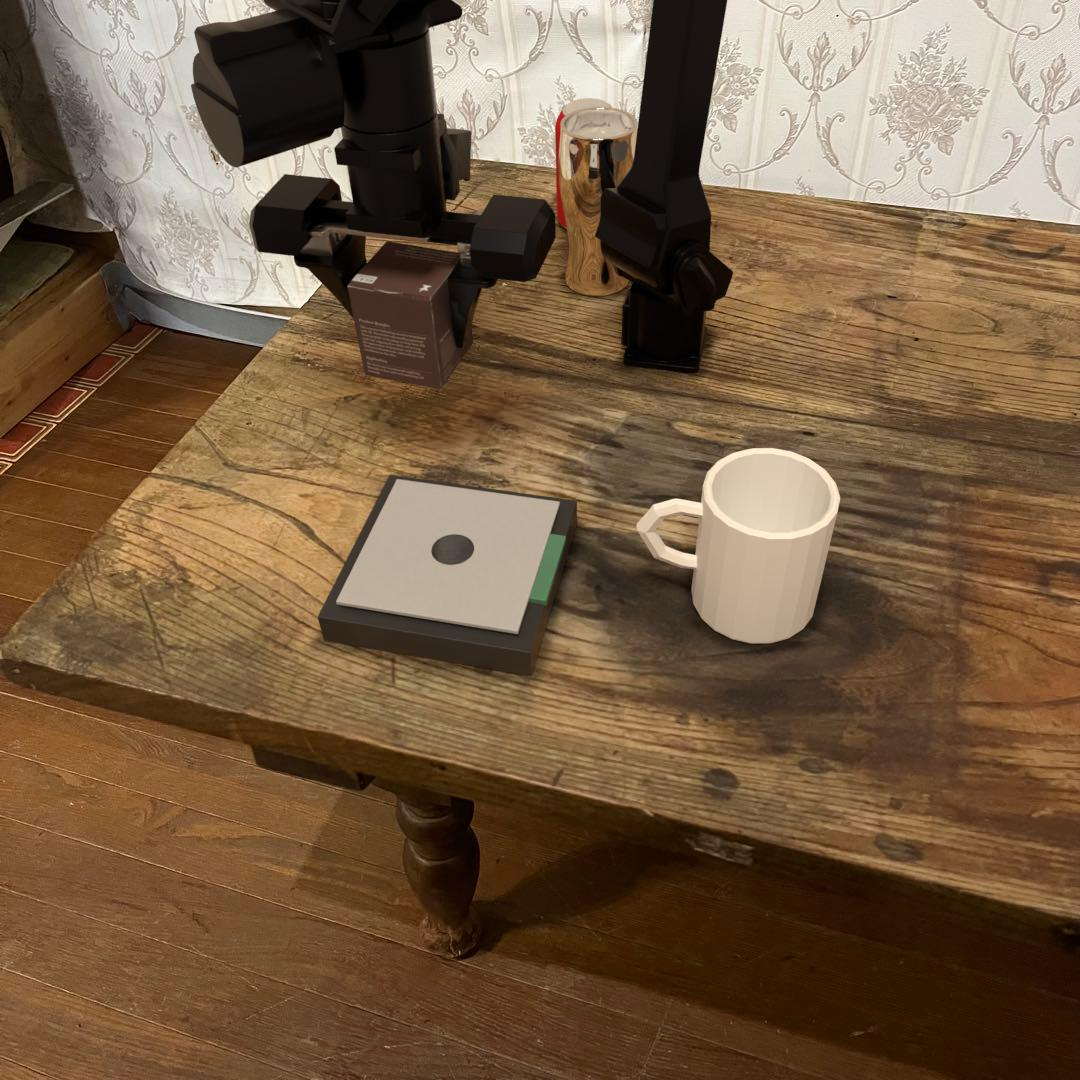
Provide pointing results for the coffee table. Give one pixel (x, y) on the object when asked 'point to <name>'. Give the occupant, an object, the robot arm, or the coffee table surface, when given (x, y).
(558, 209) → the beverage can
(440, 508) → the scale
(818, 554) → the mug
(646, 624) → the coffee table surface
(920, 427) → the coffee table surface
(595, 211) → the beer glass
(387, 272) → the box
